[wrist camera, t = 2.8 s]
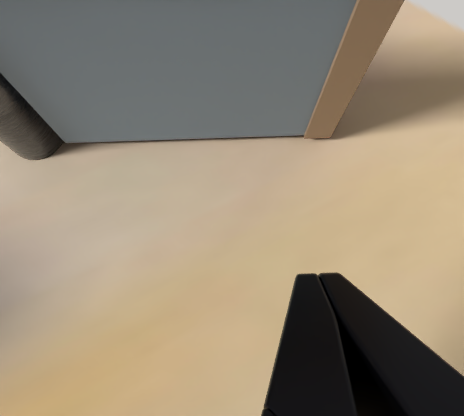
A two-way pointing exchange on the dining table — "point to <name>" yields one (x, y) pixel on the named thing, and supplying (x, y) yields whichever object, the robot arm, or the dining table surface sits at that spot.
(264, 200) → the dining table surface
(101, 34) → the gate
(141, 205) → the dining table surface
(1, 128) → the hinge post
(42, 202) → the dining table surface
